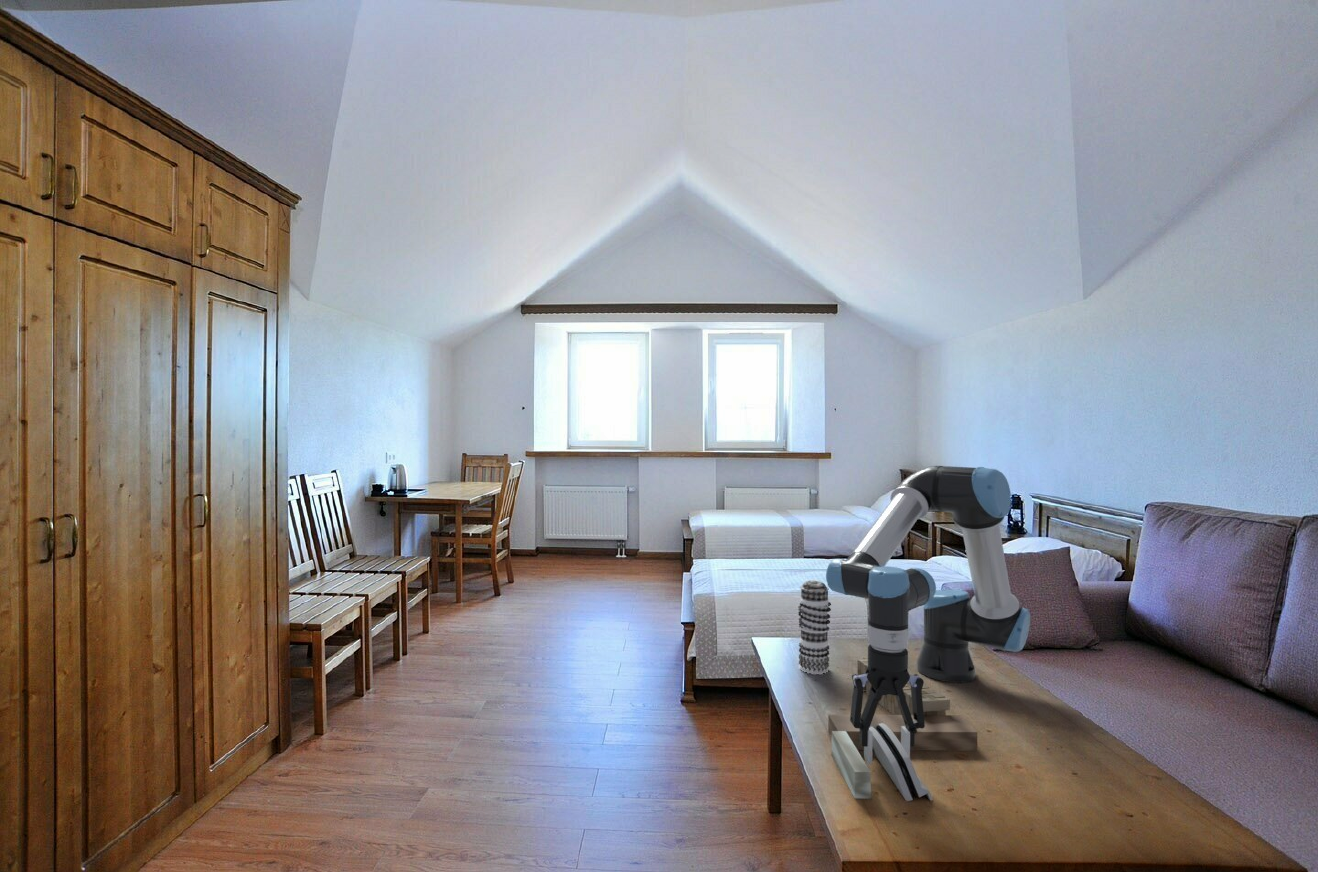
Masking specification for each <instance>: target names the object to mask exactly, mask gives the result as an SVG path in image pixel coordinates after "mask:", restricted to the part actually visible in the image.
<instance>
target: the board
mask: <svg viewBox="0 0 1318 872" xmlns="http://www.w3.org/2000/svg"><path fill="white" fill-rule="evenodd" d="M850 715H851V714H828V716H827V717H828V720H827V721H828V729H827V731H828V734H829V733H830V734H829V736H830V735H831V736H830V738H831V754H832V755H831V756H832V758H833V760H834V762H835V765H836V766H837V768H838V770H839V772H840V773H841V775H842V778H843V779H844V781H845V782H846V785H847V787H848V788H849V791H850V792H851V794H852V796H853V798H854V799H871V797H872V796H871V795H872V792H871V791H872V787H871V785H872V776H871V775H872V772H871V770H870V768H869V767H868V764H867V762H866V761H865V759H864V757H862V755H861V754H860V752H859V751H864V747H863V746H862V745H861V743H860V729H859V728H855V727H854V726H853V724H852V723H851V721H850ZM911 716H912V719H914V717H913V715H911ZM924 722H925V727H924V728H922V729H921V728H918V729H917V733H915V741H914V747H910V751H960V752H961V751H965V752H967V751H969V752H970V751H973V752H974V751H976V752H977V751H978V731H977V730H976V729H975V728H974V727H972V725H971V724H970V723H968V722H967V721H966V719H964V718H963V717H962V716H961V715H951V714H948V715H947V714H946V715H924ZM881 723H884V724H885V725H887V726H888V727H889V728H890V730H891V731H892V732H893V733H894V735H895V736H896V737H897V739H898V740H899V742H900V743H901V726H905V727H906V725H905V723H904V720H903V717H902V715H893V714H874V716H873V719H872V722H871V725H870V727H871V726H872V727H875V728H876V726H878V725H877V724H881ZM870 727H869V728H870ZM872 751H874V749H873V746H872Z"/></svg>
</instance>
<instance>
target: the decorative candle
mask: <svg viewBox="0 0 1318 872" xmlns="http://www.w3.org/2000/svg"><path fill="white" fill-rule="evenodd" d="M799 588H800V590H801V591H800V592H801V594H800V595H801V596H800V603H799V606H798V614H797V615H798V616H799V618H798V623H799V624H798V627H799V630H800V636H799V637H800V638H799V639H800V640H799V641H800V642H799V644H798V646H799V649H798V652H799V654H798V668H800V669H801V670H802V671H801V670H800V669H799V670H800V671H801V672H803V671H804V672H803V673H805V672H807V673H806V674H809V673H811V674H810V675H816V674H819V675H824V674H823V673H825V674H827V673H829V672H828V670H829V669H830V657H829V655H830V645H829V639H828V633H829V631H830V627H829V626H828V625H830V623H831V621H830V618H831V615H830V614H829V613H830V612H831V611H832V608H831V605H832V603H831V602H830V601H829V589H830V588H829V586H828V587H827V585H826V584H825V582H823V581H821V580H820V581H819V580H806V581H805V582H803V584H802V585H800V586H799ZM829 671H830V670H829ZM826 672H827V673H826Z"/></svg>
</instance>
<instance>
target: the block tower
mask: <svg viewBox="0 0 1318 872" xmlns="http://www.w3.org/2000/svg"><path fill="white" fill-rule="evenodd" d="M867 668H868V656H863V658H861V659H857V674H856V675H857V676H858V675H862V674H865V673H866V671H867ZM870 688H871V684H870V682H869V681H868V680H867V681H866V683H865V687H863V690H866V691H865V694H866V693H867V694H868V695H867V694H866V695H867V696H869V691H870ZM903 691H904V694H905V697H906V698H905V699H906V702H907V705H908V708H909V710H910V713H911V715H913V706H912V696H911V685H910V684H909V681H908V682H907V684H906V685H905V686H904V688H903ZM922 701H923V712H924V715H947V713H946V711H950V710H951V699H949V698H948V697H946V696H945V695H944V694H942V693H939V692H937V691H935V690H934V689H933V688H931V687H930V686H928V685H927V684H926V683H924V684H923V687H922ZM878 705H880V706H881V707H882V706H883V709H885V708H886V709H887V710H886V711H888V710H889V711H890V712H889V711H888V712H889V713H891V715H902V714H901V711H900V708H899V705H898V702H897V700H896V697H895V695H891V694H888V695H882V698H881V700H880V701H879V703H878Z"/></svg>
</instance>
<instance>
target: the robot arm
mask: <svg viewBox="0 0 1318 872" xmlns="http://www.w3.org/2000/svg"><path fill="white" fill-rule="evenodd" d="M1011 495H1012V494H1011V489H1010V484H1009V482H1008V479H1007V477H1006V476H1005V474H1004V473H1003V472H1001V470H999V469H996V468H986V467H984V466H978V467H965V466H964V467H963V466H946V465H933V466H928V467H925V468H922V469H920V470H917V471H915V472H914V473H912V474H910V475H909V476H908V477H906V478H905V479H903V480H902V481H901V482H900V483H899V484H898V485H896V487H895V488H894V490H892V492H891V495H890V501H889V503H888V505H887V506H886V507H885V509H884V510H883V511H882V512H881V513H880V515H879V517H878V518H877V519H876V520H875V521H874V523H873V524H872V525H871V527H870V528H869V530H868V531H867V532H866V533H865V535H864V536H863V537H862V539H861V540H860V542H859V543H858V544H857V546H856V547H855V548H854V550H853V551H852V552H851V554H849V556H848V557H847V558H846V559H844V558H841V559H840V558H835V559H832V560H831V561H830V562H829V564H828V565H827V569H826V572H825V573H826V574H825V580H826V583H827V586H828V588H829V589H830V590H831V591H833V592H835V593H839V594H842V595H844V596H851V597H857V598H862V599H868V602H867V603H868V619H867V622H868V623H867V625H868V626H867V627H868V629H867V643H868V644H869V645H868V646H867V657H868V668H867V671H866V673H865V674H862V675H858V674H856V673H853V674H851V680H852V683H853V684H852V685H853V690H852V700H851V707H850V708H851V709H850V714H849V715H850V721H851V723H852V724H853V726H854V727H855V728H859V729H860V743H861V745H862V746H863V747H864V750H863V760H864V761H865V763H866V765H867V766H873V750H872V743H873V732H872V731H871V729H870V728H869V727H870V725H871V722H872V719H873V716H874V715H876V714H875V713H876V710H877V709H878V706H879V701H880V700H881V698H882V695H888V694H891V695H895V697H896V700H897V702H898V705H899V708H900V711H901V714H902V717H903V720H904V723H905V725H906V727H905V726H901V745H902V746H903V748H904V749H905V751H906V753H907V754H908V756H909V758H910V759H911V750H910V747H914V741H915V733H917V729H918V728H921V729H922V728H924V727H925V722H924V712H923V701H922V687H923V684H925V681H924V679H923V678H922V677H921V676H919V674H916V673H914V674H911V673H909V670H908V668H909V651H908V647H909V612H910V611H911V610H914V609H916V608H919V607H922V606H923V608H922V609H923V643H922V646H921V648H920V652H919V654H918V657H917V660H916V670H917V671H918V672H919V673H920V674H922V675H924V676H926V677H928V678H931V679H933V680H937V681H943V682H949V683H967V682H972V681H973V680H974V679H975V678H976V668H975V664H974V661H973V658H972V655H971V652H970V649H969V643H974V644H977V645H982V646H984V647H985V646H986V647H989V648H994V649H997V650H1001V651H1004V652H1005V651H1008V652H1013V653H1019V652H1020V651H1022V650H1023V648H1024V647H1025V645H1026V642H1027V639H1028V635H1029V631H1030V627H1031V626H1030V625H1031V612H1030V610H1028V609H1027V608H1025V607H1021V606H1020V601H1019V599H1018V598H1017V597H1016V596H1015V594H1013V593H1012V591H1011V587H1010V586H1011V585H1010V581H1009V574H1008V568H1007V564H1006V556H1005V553H1004V552H1005V550H1004V546H1003V540H1002V534H1001V529H1000V527H1001V526H1000V524H1001V523H1002V522H1004V519H1005V517H1006V516H1008V514H1009V513H1010V511H1011V506H1012V505H1011V504H1012V500H1011ZM928 512H945V513H951V514H952V519H953V520H952V521H953V523H954V524H955V525H956V526H958V527H959V528H961V532H962V538H963V543H964V546H965V552H966V558H967V563H968V567H969V572H970V577H971V582H972V588H973V592H974V595H973V596H972V598H970V597H971V596H970V594H969V592H968V591H965V590H962V589H937V586H936V584H937V583H936V582H935V580H934V579H935V578H933V575H931V573H930V572H928V571H927V570H925V569H923V568H918V567H917V568H916V567H915V568H912V567H911V568H907V569H903V568H901V567H897V566H889V565H888V566H887V564H888V562H889V561H890V560H891V558H892V556H893V555H894V554H895V552H897V551H896V550H898V548H899V547H900V545H901V544H902V542H903V541H904V540H905V538H906V537H907V535H908V534H909V532H910V531H911V529H912V528H913V527H914V525H915V523H916V522H917V520H920V519H922V518H924V517H926V515H927V514H928ZM857 675H858V676H857ZM867 680H868V681H869V682H870V684H871V688H870V691H869V695H867V696H868V697H867V699H866V702H865V704H864V707H863V701H864V691H863V687H865V683H866V681H867ZM908 681H909V684H910V685H911V696H912V706H913V717H914V719H912V716H911V713H910V710H909V708H908V705H907V702H906V699H905V698H906V697H905V694H904V691H903V688H904V686H905V685H906V684H907V682H908ZM862 709H863V711H862Z"/></svg>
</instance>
